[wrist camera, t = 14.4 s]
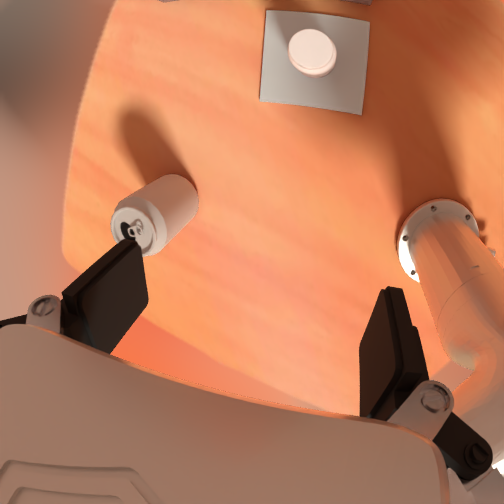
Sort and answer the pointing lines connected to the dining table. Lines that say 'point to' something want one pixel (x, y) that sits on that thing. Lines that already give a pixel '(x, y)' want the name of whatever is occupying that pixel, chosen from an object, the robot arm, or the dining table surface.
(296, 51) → the pill bottle
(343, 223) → the dining table surface
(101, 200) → the dining table surface
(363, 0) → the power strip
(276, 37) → the mat
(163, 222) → the can
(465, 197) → the dining table surface
